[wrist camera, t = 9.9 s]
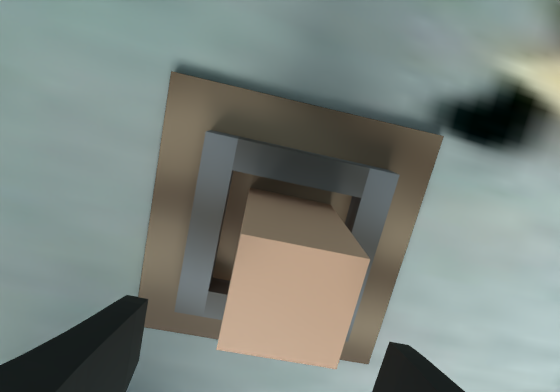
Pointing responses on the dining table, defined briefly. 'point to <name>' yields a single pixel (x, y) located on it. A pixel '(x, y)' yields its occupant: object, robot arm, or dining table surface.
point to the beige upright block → (292, 282)
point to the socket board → (278, 179)
